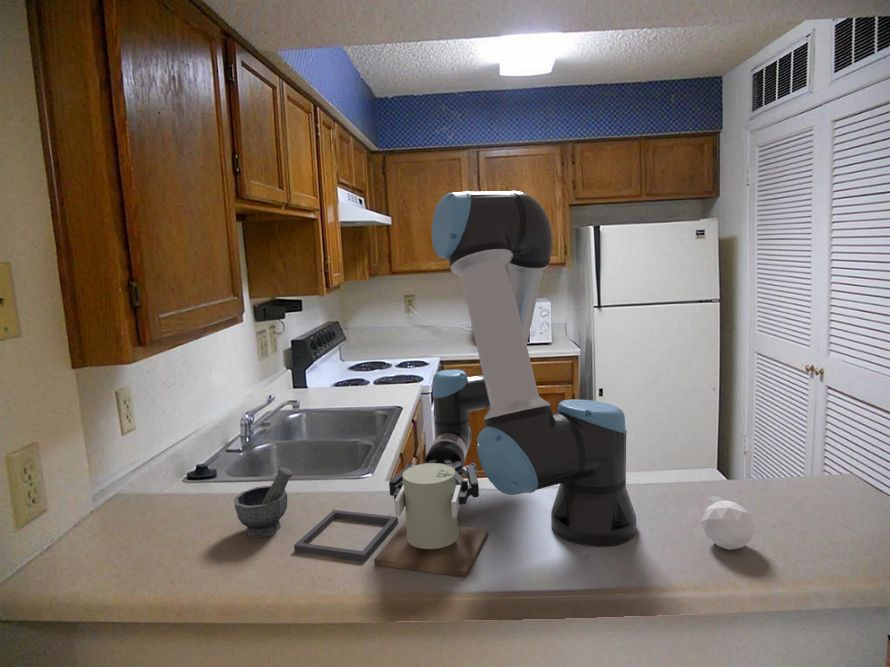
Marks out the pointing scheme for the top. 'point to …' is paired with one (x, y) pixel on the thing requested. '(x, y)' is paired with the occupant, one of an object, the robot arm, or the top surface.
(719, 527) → the ball
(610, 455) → the robot arm
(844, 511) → the top surface
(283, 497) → the mortar and pestle
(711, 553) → the top surface
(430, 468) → the can
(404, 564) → the walnut board
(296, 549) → the grey picture frame
